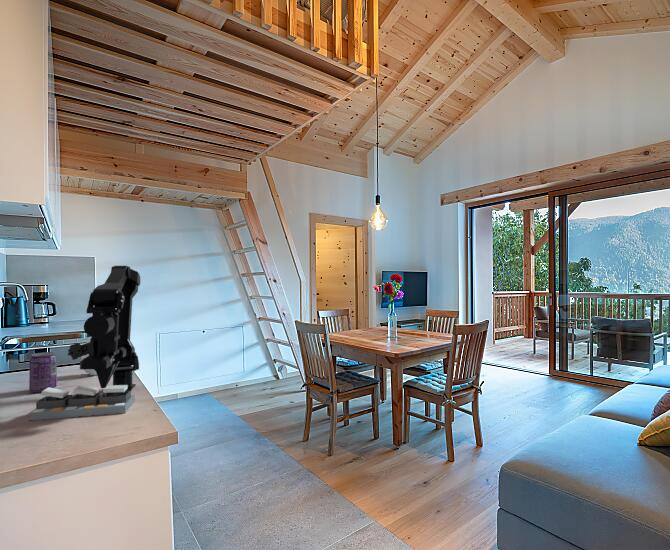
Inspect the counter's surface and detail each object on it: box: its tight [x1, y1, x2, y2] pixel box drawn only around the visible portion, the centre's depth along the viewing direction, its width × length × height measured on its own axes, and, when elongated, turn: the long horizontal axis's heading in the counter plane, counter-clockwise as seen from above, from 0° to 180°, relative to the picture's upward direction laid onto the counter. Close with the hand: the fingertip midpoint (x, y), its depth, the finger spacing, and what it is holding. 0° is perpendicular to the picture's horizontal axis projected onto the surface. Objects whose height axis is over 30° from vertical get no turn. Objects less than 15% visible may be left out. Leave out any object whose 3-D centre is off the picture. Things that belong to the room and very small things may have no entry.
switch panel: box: [28, 390, 136, 421], centre depth 106 cm, size 10×23×4 cm, turn 104°
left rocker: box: [40, 387, 70, 398], centre depth 104 cm, size 4×5×1 cm
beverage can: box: [28, 351, 58, 393], centre depth 125 cm, size 7×7×12 cm
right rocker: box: [102, 384, 128, 394], centre depth 108 cm, size 4×5×1 cm
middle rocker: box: [72, 385, 100, 396], centre depth 106 cm, size 4×5×1 cm
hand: (103, 387), depth 107 cm, fingers closed, pressing on right rocker
